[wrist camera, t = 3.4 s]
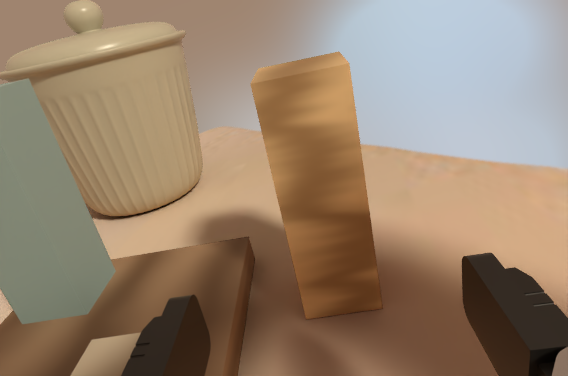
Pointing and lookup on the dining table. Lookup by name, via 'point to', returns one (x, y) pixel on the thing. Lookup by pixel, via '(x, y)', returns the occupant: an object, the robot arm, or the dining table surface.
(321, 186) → the oak post
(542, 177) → the dining table surface
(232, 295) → the frame base
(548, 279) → the dining table surface
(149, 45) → the canister
